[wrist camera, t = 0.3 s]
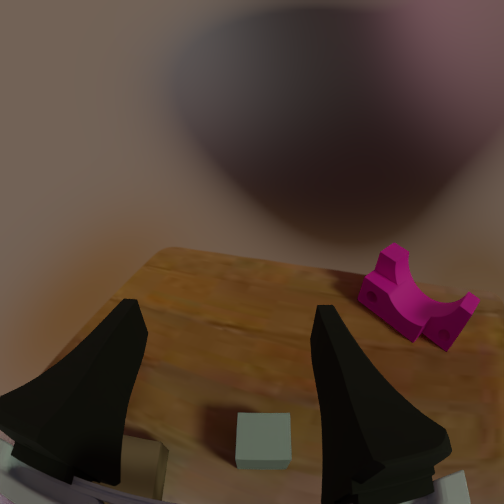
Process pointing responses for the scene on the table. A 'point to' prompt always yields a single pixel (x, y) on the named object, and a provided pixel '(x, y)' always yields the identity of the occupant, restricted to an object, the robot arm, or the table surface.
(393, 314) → the toy block
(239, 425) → the gray cube
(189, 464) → the table surface
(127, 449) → the base block
